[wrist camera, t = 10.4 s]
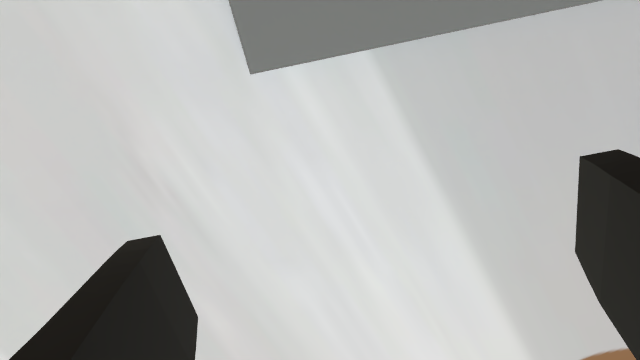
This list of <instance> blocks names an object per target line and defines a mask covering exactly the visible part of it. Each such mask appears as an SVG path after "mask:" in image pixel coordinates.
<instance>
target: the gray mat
mask: <svg viewBox="0 0 640 360" xmlns="http://www.w3.org/2000/svg"><path fill="white" fill-rule="evenodd" d="M597 1H602V0H229V3H230V6H231V10H232V13H233V17H234V20H235V24H236V27H237V30H238V34H239V37H240V41H241V44H242V48H243V51H244V54H245V58H246V61H247V65H248V68H249V71H250V74H255V73H259V72H264V71H269V70H274V69H278V68H283V67H288V66H293V65H297V64H302V63H307V62H312V61H317V60H321V59H326V58H331V57H336V56H340V55H345V54H350V53H355V52H359V51H364V50H369V49H374V48H378V47H383V46H388V45H393V44H397V43H402V42H407V41H412V40H416V39H421V38H426V37H431V36H435V35H440V34H445V33H450V32H454V31H459V30H464V29H469V28H473V27H478V26H483V25H488V24H492V23H497V22H502V21H507V20H511V19H516V18H521V17H526V16H530V15H535V14H540V13H545V12H549V11H554V10H559V9H564V8H568V7H573V6H578V5H583V4H587V3H592V2H597Z"/></svg>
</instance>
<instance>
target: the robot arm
mask: <svg viewBox="0 0 640 360" xmlns="http://www.w3.org/2000/svg"><path fill="white" fill-rule="evenodd" d="M575 253H576V255H577V257H578V259H579V261H580V263H581V266H582V268H583V270H584V272H585V274H586V276H587V279H588V281H589V283H590V285H591V287H592V289H593V291H594V293H595V295H596V297H597V299H598V301H599V303H600V304H601V306H602V308H603V309H604V311H605V312H606V314H607V315H608V317H609V319H610V320H611V322H612V323H613V325H614V326H615V328H616V329H617V331H618V332H619V334H620V335H621V337H622V338H623V340H624V342H625V343H626V345H627V346H628V348H629V349H630V351H631V352H632V354H633V355H634V357H635V358H636V360H640V158H639V157H637V156H634V155H632V154H629V153H627V152H624V151H621V150H612V151H607V152H602V153H596V154H591V155H586V156H580V163H579V184H578V204H577V225H576V245H575ZM197 324H198V316H197V314H196V312H195V309H194V307H193V305H192V303H191V301H190V298H189V296H188V294H187V292H186V290H185V288H184V285H183V283H182V281H181V279H180V277H179V275H178V272H177V270H176V268H175V266H174V264H173V262H172V259H171V257H170V255H169V253H168V251H167V248H166V246H165V244H164V242H163V240H162V238H161V235H157V236H152V237H147V238H141V239H136V240H131V241H127V242H126V243H125V244H124V245H123V246H121V247H120V248H119V249H118V250H117V251H116V252H115V253H114V254H113V255H112V256H111V257H110V258H109V259H108V260H107V261H106V262H105V263H104V264H103V265H102V266H101V267H100V268H99V269H98V270H97V271H96V272H95V273H94V274H93V275H92V276H91V277H90V278H89V280H88V281H87V282H86V283H85V284H84V285H83V286H82V287H81V288H80V289H79V290H78V291H77V292H76V293H75V294H74V295H73V296H72V297H71V298H70V299H69V300H68V301H67V302H66V303H65V304H64V306H63V307H62V308H61V309H60V310H59V311H58V312H57V313H56V314H55V315H54V316H53V317H52V318H51V319H50V320H49V321H48V322H47V323H46V324H45V325H44V326H43V327H42V328H41V329H40V330H39V331H38V332H37V333H36V334H35V335H34V336H33V337H32V338H31V339H30V340H29V341H28V342H27V343H26V344H25V345H24V346H23V347H22V348H21V349H20V350H18V351H17V352H16V353H15V354H14V355H13V356H12V357H11V358H10V359H9V360H195V351H196V339H197Z"/></svg>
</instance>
